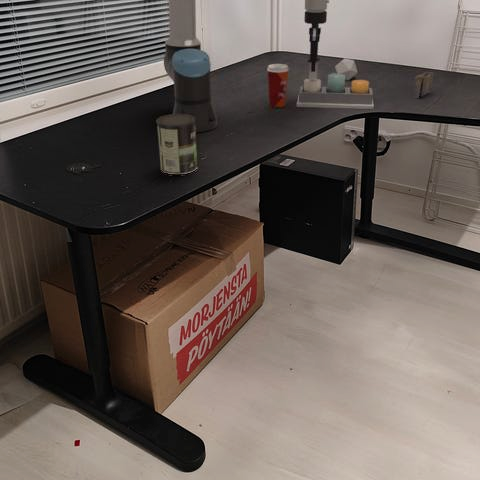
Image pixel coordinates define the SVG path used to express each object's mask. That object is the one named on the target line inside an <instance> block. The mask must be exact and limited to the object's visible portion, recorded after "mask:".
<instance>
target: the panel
mask: <svg viewBox="0 0 480 480" xmlns="http://www.w3.org/2000/svg"><path fill="white" fill-rule="evenodd" d="M351 87H352V86H351ZM351 87H349V86H347V87H344V93H327V88H328V86H321V89H320V92H304V85H301V86H300V88H299V92H298V97H297V101H296V107H297V108H298V107H299V108H300V107H301V108H323V109H324V108H325V109H326V108H327V109H329V108H331V109H354V110H355V109H356V110H357V109H358V110H359V109H360V110H374V107H375V105H374V99H373V96H374V94H373V89H372V87H369V88H368V94H356V93H351Z"/></svg>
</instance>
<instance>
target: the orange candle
mask: <svg viewBox="0 0 480 480" xmlns="http://www.w3.org/2000/svg"><path fill="white" fill-rule="evenodd" d="M369 85H370V81H368V80H366V79H353V80H351V93H356V94H368V88H370V87H369Z"/></svg>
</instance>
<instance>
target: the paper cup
mask: <svg viewBox="0 0 480 480" xmlns="http://www.w3.org/2000/svg"><path fill="white" fill-rule="evenodd" d="M266 70H267V79H268V81H267V82H268V102H269V107H271V108H276V107H279V108H284V107H286V97H287V90H288V89H287V88H288V77H289V76H288V75H289V74H288V73H289V70H290V69H289V66H288V65H287V64H284V63H273V64H269V65H268V66H267V68H266Z"/></svg>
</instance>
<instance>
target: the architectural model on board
mask: <svg viewBox="0 0 480 480" xmlns="http://www.w3.org/2000/svg"><path fill="white" fill-rule="evenodd" d="M433 78H434V73H433V72H428V71H426V72H424V73H422V74H419V75H416V76H415V78H414V79H413V81H414V82H413V90H412V96H420V97H421V95H422V94H424V93H425V92H427V91H429V89H431V90H432V87H433ZM420 91H421V94H420Z"/></svg>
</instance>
